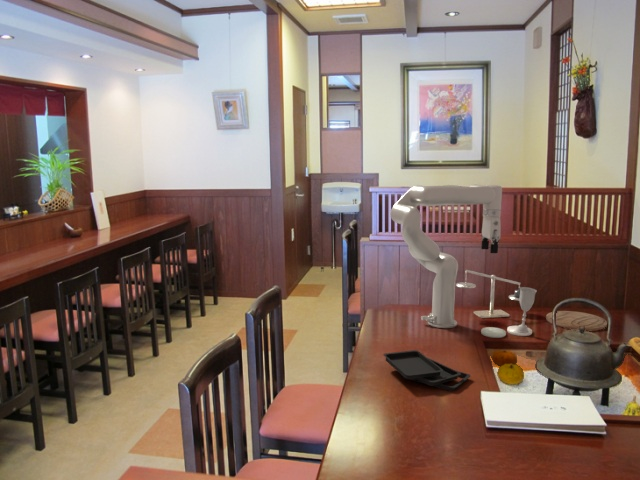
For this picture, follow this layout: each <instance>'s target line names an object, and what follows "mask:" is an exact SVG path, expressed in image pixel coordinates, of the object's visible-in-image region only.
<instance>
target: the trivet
mask: <svg viewBox="0 0 640 480" xmlns="http://www.w3.org/2000/svg"><path fill="white" fill-rule="evenodd" d="M556 311H557V313H556V325H557V326H559V327H558V328H560V327H565V328H571V329H577V328H578V327H579V326H585V328H586V329H587V330H598V329H603V328H604V329H603V330H605V329H606V328H607V327H608V321H607V320H606V319H605V318H603V317H601V316H598V315H596V314H591V313H587V312H581V311H574V310H573V311H572V310H571V311H570V310H556ZM552 312H553V311H552ZM552 312H548V313H547V314H546V315H545V320H546V321H547V323H548V324H550V325H552ZM557 326H556V327H557ZM605 327H606V328H605Z"/></svg>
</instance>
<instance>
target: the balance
mask: <svg viewBox="0 0 640 480" xmlns="http://www.w3.org/2000/svg"><path fill="white" fill-rule="evenodd" d="M464 272H465V282H463V281H462V282H457V283H456V282H455V287H456V288H458V289H460V288H461V289H475V288H476V287H477V285H476V284H475V283H472V282H467V276H468V273H469V274H472V275H476V276H481V277H485V278H489V279H491V281H490V283H491V284H490V298H489V309H487V310H473V314H474V315H475V316H477V317H479V318H480V319H489V318H507V317H509V318H510V314H509V313H508V312H506V311H504V310H502V309H494V308H495V307H494V304H495V287H496V285H495V283H496V280H497V281H501V282H506V283H509V284H514V285H518V289H514V294H510V295H508V299H509V300H513V301H517V302H520V301H519V298H520V288H521V282H518V281H515V280H511V279H505V278H502V277H498V276H497V275H495V274H491V275H489V274H486V273H482V272H477V271H474V270H468V269H465V271H464Z"/></svg>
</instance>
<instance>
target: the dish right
mask: <svg viewBox="0 0 640 480" xmlns="http://www.w3.org/2000/svg"><path fill="white" fill-rule="evenodd" d="M518 326H519V325H510V326H507V330H506V333H508V334H510V335H513V336H519V337H528V336H531V335H532V334H533V329H532V328H530V327H528V326H527V328H528V333H521V332H518V331H516V329H517V327H518Z"/></svg>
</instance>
